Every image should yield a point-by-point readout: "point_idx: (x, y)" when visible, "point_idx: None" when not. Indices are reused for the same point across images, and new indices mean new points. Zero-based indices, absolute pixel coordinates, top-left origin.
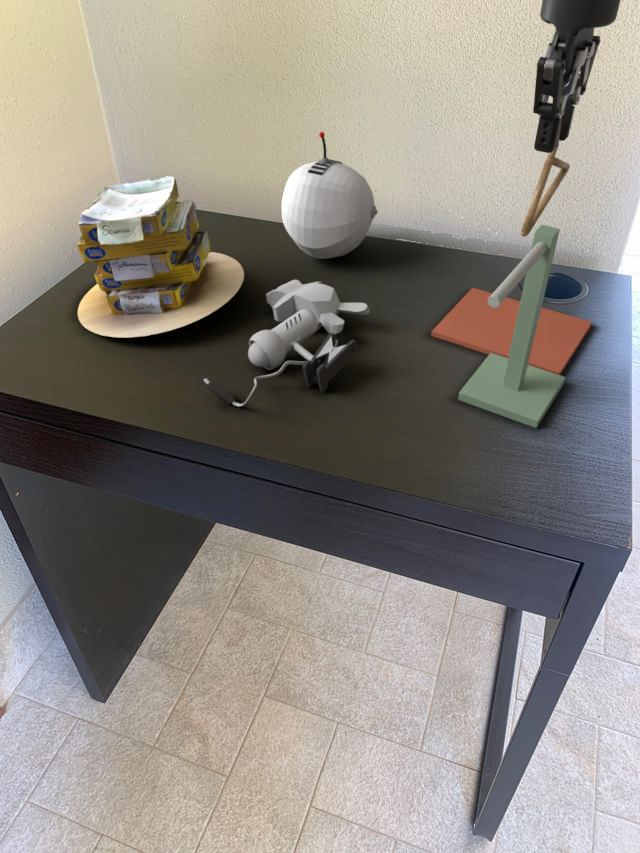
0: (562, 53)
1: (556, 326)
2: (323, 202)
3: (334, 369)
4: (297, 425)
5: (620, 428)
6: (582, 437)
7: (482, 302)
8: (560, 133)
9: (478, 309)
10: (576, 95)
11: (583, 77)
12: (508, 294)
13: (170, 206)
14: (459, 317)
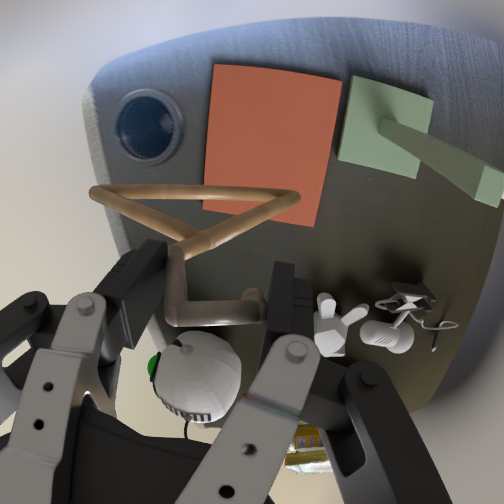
0: None
1: (244, 98)
2: (227, 393)
3: (416, 288)
4: (457, 283)
5: (398, 23)
6: (425, 58)
7: None
8: (160, 265)
9: None
10: (99, 329)
11: (76, 388)
12: None
13: (325, 455)
14: None
